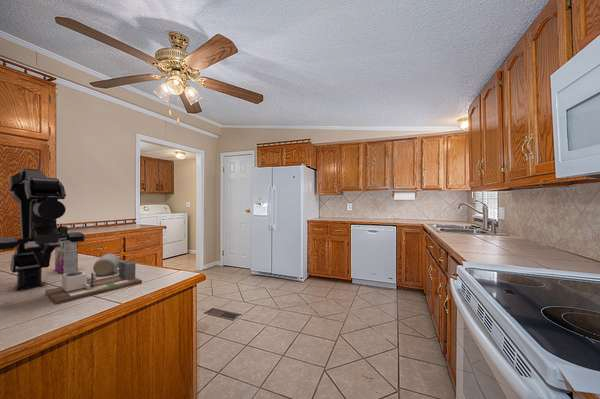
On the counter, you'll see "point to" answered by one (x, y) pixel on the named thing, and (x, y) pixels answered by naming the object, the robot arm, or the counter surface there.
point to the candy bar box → (66, 257)
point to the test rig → (98, 285)
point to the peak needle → (92, 280)
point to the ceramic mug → (106, 265)
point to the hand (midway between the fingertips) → (42, 267)
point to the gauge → (75, 281)
